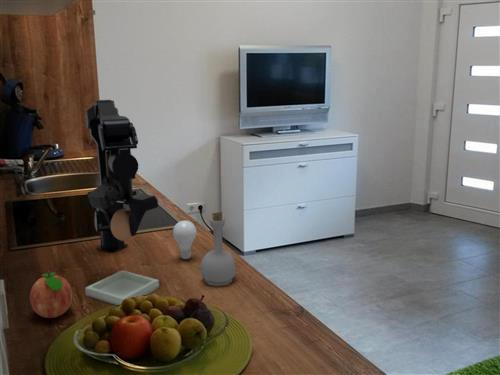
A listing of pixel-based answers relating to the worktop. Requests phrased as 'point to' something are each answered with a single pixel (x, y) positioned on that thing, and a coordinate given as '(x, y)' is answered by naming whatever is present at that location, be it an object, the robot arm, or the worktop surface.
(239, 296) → the worktop surface
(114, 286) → the dish
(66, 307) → the fruit
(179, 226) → the lightbulb
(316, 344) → the worktop surface
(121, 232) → the egg
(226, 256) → the potion bottle
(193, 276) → the worktop surface
